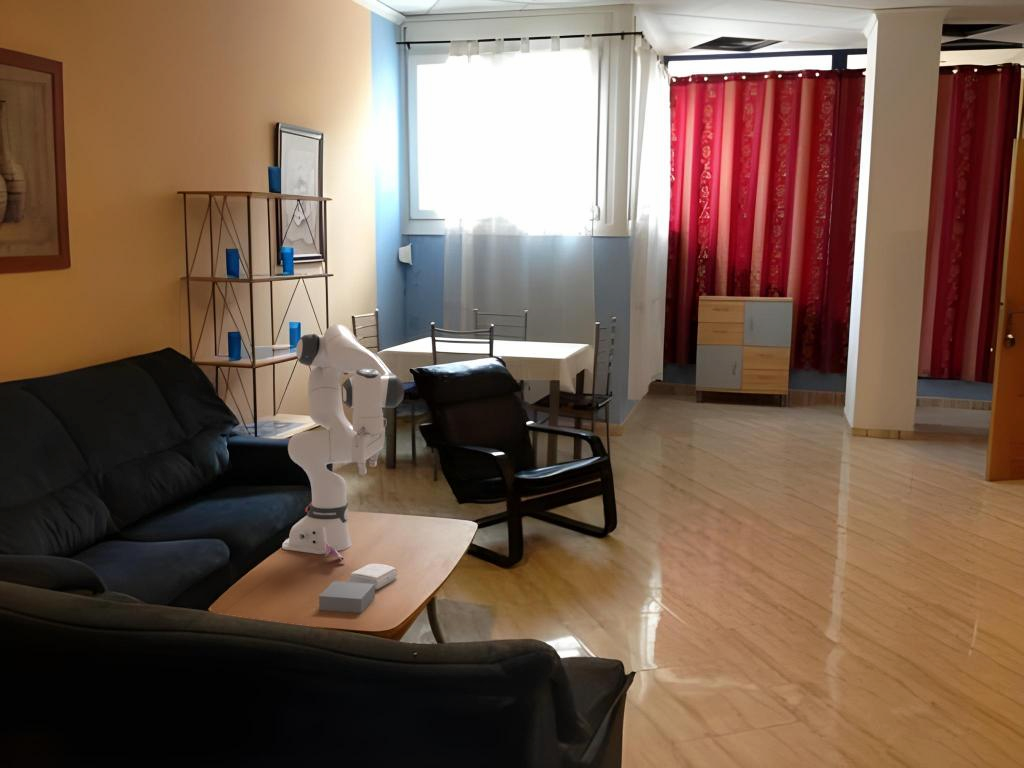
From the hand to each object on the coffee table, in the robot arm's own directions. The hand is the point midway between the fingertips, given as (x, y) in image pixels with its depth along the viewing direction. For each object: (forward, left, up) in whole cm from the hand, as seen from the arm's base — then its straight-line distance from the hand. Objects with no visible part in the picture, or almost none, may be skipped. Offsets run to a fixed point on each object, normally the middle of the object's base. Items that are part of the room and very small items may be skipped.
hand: (368, 470), depth 270 cm
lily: (-17, +9, -34) cm, 39 cm away
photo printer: (+1, -8, -31) cm, 32 cm away
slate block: (0, -20, -34) cm, 39 cm away
